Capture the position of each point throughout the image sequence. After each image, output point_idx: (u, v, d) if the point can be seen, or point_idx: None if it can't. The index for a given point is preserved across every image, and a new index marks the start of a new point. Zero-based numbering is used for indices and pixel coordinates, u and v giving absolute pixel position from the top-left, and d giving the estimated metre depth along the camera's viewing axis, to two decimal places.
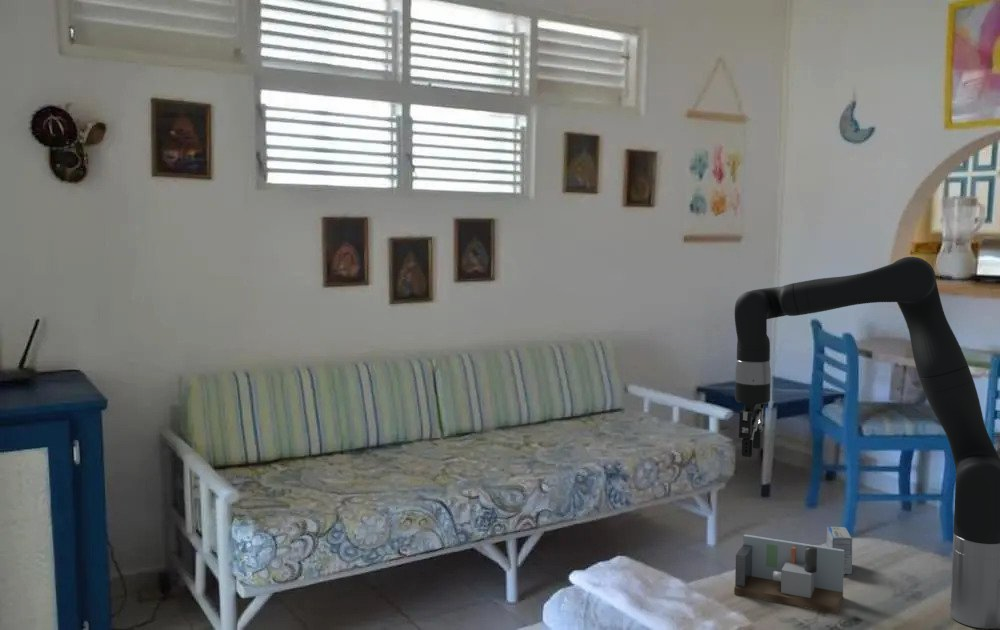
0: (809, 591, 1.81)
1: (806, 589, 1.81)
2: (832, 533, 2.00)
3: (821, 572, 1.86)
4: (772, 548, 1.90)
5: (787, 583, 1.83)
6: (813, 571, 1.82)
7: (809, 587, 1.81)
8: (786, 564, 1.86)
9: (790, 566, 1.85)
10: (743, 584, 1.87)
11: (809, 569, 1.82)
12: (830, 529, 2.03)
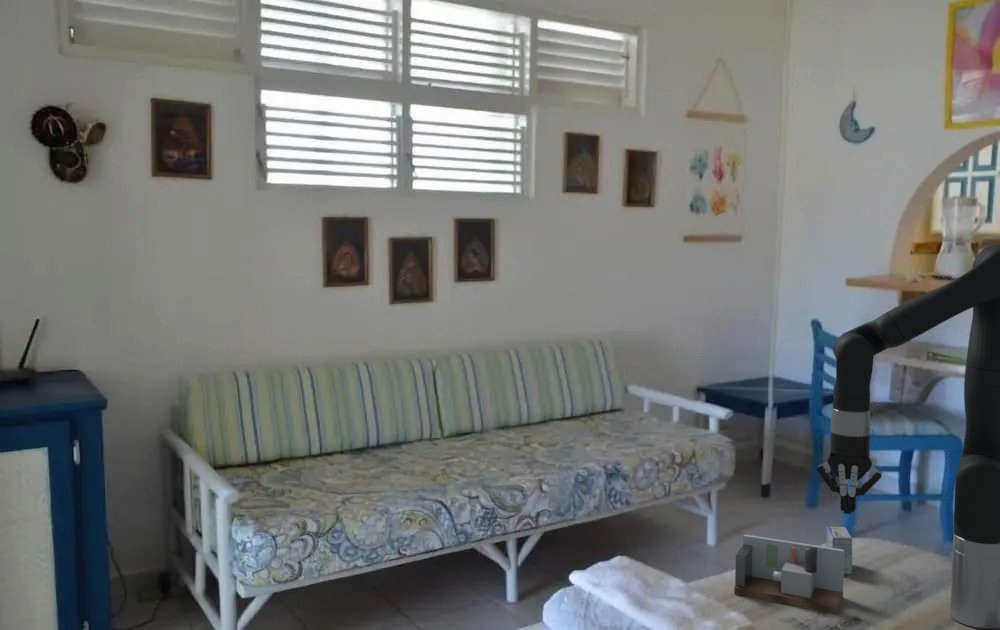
0: (809, 591, 1.81)
1: (806, 589, 1.81)
2: (832, 533, 2.00)
3: (821, 572, 1.86)
4: (772, 548, 1.90)
5: (787, 583, 1.83)
6: (813, 571, 1.82)
7: (809, 587, 1.81)
8: (786, 564, 1.86)
9: (790, 566, 1.85)
10: (743, 584, 1.87)
11: (809, 569, 1.82)
12: (830, 529, 2.03)
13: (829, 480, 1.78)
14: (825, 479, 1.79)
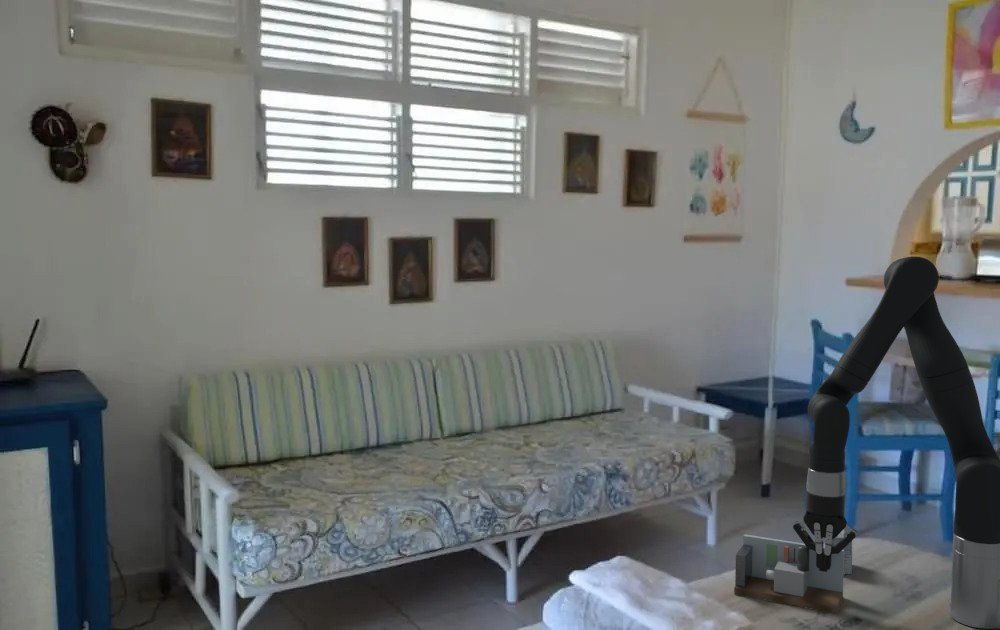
0: (802, 590, 1.81)
1: (799, 587, 1.82)
2: None
3: (821, 572, 1.86)
4: (772, 548, 1.90)
5: (780, 582, 1.84)
6: (806, 570, 1.82)
7: (802, 586, 1.81)
8: (779, 563, 1.87)
9: (782, 564, 1.86)
10: (743, 584, 1.87)
11: (802, 568, 1.82)
12: None
13: (805, 538, 1.81)
14: (801, 537, 1.82)
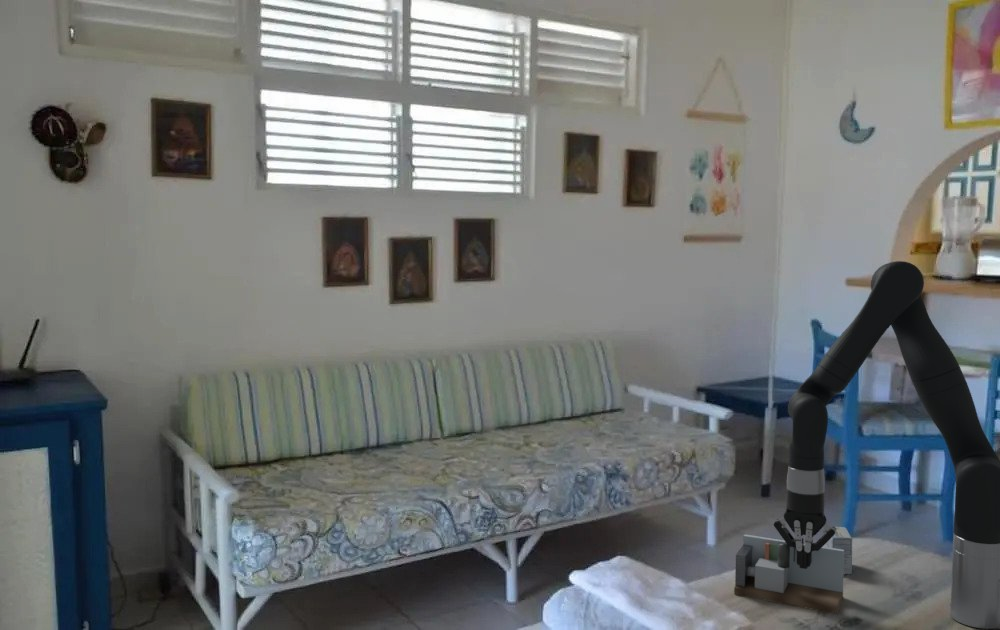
0: (782, 586, 1.83)
1: (779, 584, 1.84)
2: None
3: (821, 572, 1.86)
4: (772, 548, 1.90)
5: (761, 579, 1.85)
6: (786, 566, 1.84)
7: (782, 582, 1.83)
8: (760, 560, 1.89)
9: (763, 561, 1.88)
10: (743, 584, 1.87)
11: (782, 564, 1.84)
12: None
13: (785, 535, 1.83)
14: (782, 534, 1.84)
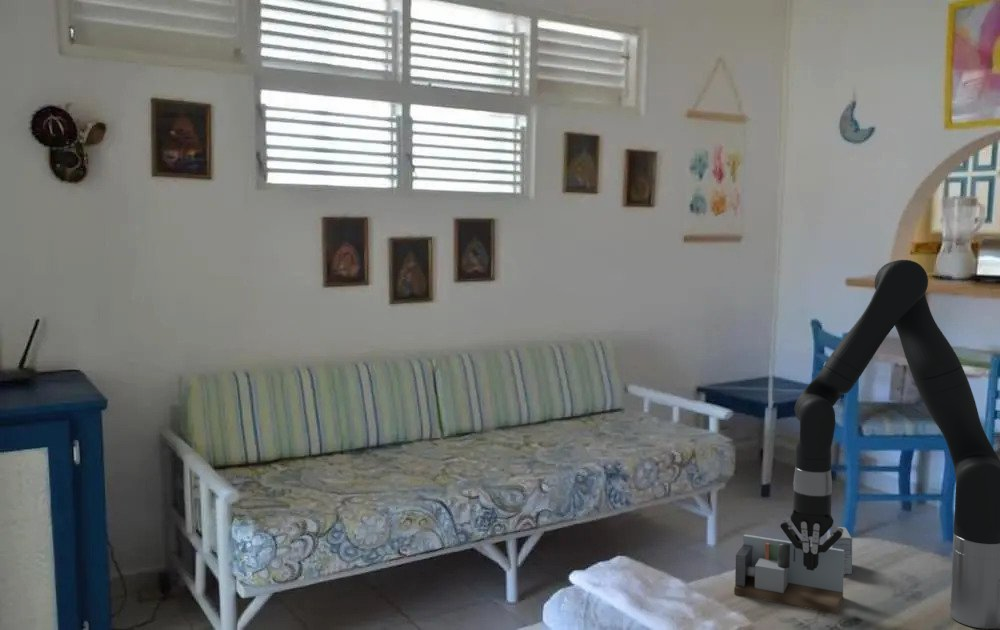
0: (782, 586, 1.83)
1: (779, 584, 1.84)
2: None
3: (821, 572, 1.86)
4: (772, 548, 1.90)
5: (761, 579, 1.85)
6: (786, 566, 1.84)
7: (782, 582, 1.83)
8: (760, 560, 1.89)
9: (763, 561, 1.88)
10: (743, 584, 1.87)
11: (782, 564, 1.84)
12: (830, 529, 2.03)
13: (792, 537, 1.83)
14: (788, 536, 1.83)
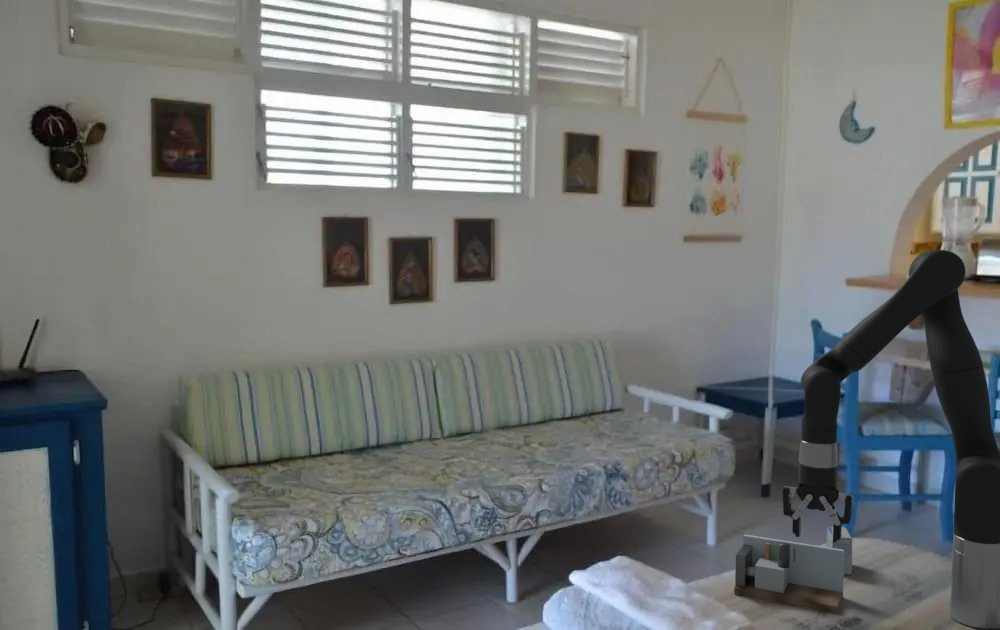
0: (782, 586, 1.83)
1: (779, 584, 1.84)
2: (832, 533, 2.00)
3: (821, 572, 1.86)
4: (772, 548, 1.90)
5: (761, 579, 1.85)
6: (786, 566, 1.84)
7: (782, 582, 1.83)
8: (760, 560, 1.89)
9: (763, 561, 1.88)
10: (743, 584, 1.87)
11: (782, 564, 1.84)
12: (830, 529, 2.03)
13: (787, 504, 1.83)
14: (784, 501, 1.83)
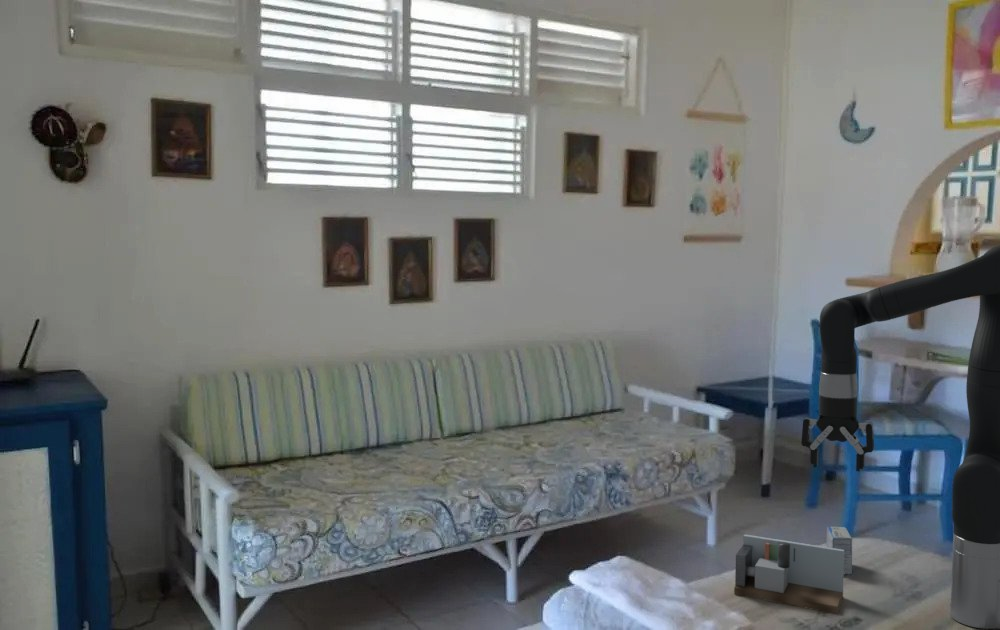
0: (782, 586, 1.83)
1: (779, 584, 1.84)
2: (832, 533, 2.00)
3: (821, 572, 1.86)
4: (772, 548, 1.90)
5: (761, 579, 1.85)
6: (786, 566, 1.84)
7: (782, 582, 1.83)
8: (760, 560, 1.89)
9: (763, 561, 1.88)
10: (743, 584, 1.87)
11: (782, 564, 1.84)
12: (830, 529, 2.03)
13: (806, 434, 1.85)
14: (803, 432, 1.85)
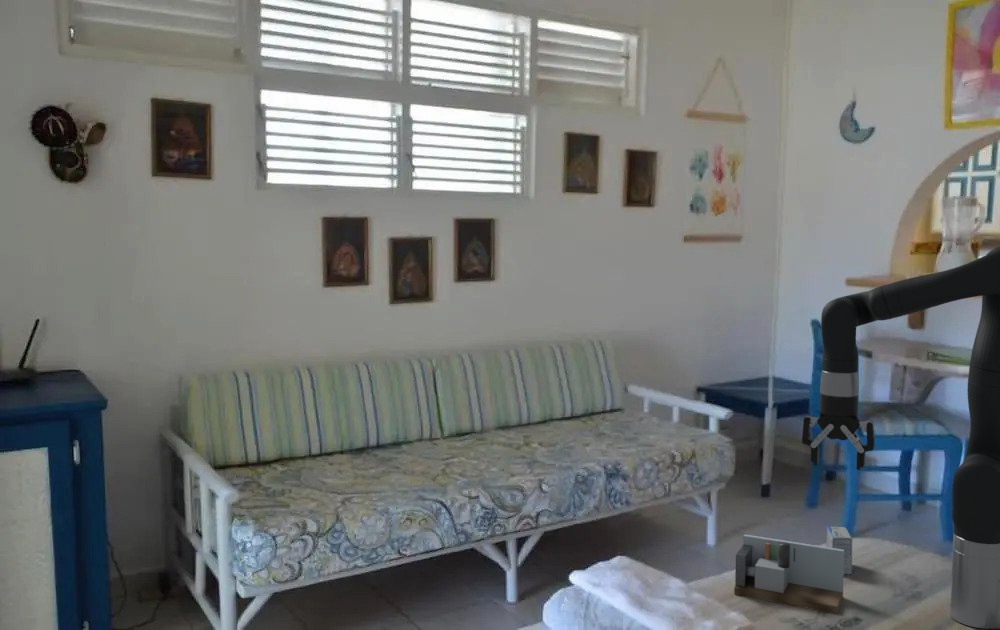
0: (782, 586, 1.83)
1: (779, 584, 1.84)
2: (832, 533, 2.00)
3: (821, 572, 1.86)
4: (772, 548, 1.90)
5: (761, 579, 1.85)
6: (786, 566, 1.84)
7: (782, 582, 1.83)
8: (760, 560, 1.89)
9: (763, 561, 1.88)
10: (743, 584, 1.87)
11: (782, 564, 1.84)
12: (830, 529, 2.03)
13: (807, 433, 1.85)
14: (804, 430, 1.86)
